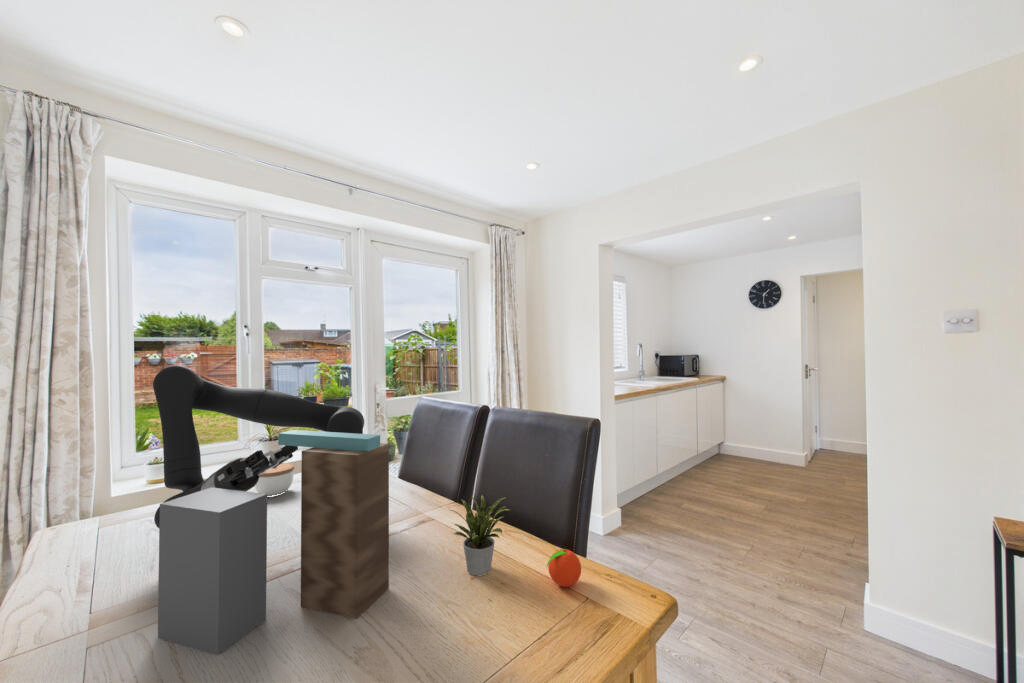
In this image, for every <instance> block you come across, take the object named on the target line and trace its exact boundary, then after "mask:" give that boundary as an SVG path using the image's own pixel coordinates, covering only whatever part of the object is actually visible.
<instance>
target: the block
mask: <svg viewBox="0 0 1024 683" xmlns="http://www.w3.org/2000/svg"><path fill="white" fill-rule="evenodd" d="M277 434H278V435H277V437H278V438H277V441H278V444H277V445H278V446H285V445H287V446H298V447H303V448H313V447H314V448H328V449H341V450H354V451H371V450H373V449H376V448H379V447H380V443H381V434H368V433H363V434H356V433H339V432H325V431H322V430H304V429H302V430H301V429H291V430H287V431H283V432H279V433H277Z"/></svg>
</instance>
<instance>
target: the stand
mask: <svg viewBox="0 0 1024 683" xmlns="http://www.w3.org/2000/svg"><path fill="white" fill-rule="evenodd" d="M389 450H390V444H389V443H387V442H386V443H385V442H380V447H379V448H376V449H373V450H371V451H354V450H341V449H328V448H314V447H309V448H307V449H303V450H301V474H300V476H301V488H300V489H301V490H300V491H301V492H300V494H301V497H300V498H301V500H300V501H301V502H300V504H301V505H300V508H301V509H300V511H301V512H300V515H301V516H300V607H302V608H305V609H310V610H315V611H319V612H325V613H327V614H328V613H329V614H335V615H338V616H342V617H345V618H346V617H347V618H352V619H355V620H357V619H359V617H361V616H362V615H363V614H364V613H365V612H366V611H368V609H369V608H371V606H373V604H375V602H377V600H379V599H380V598H381V597H382V596H383V595H384V594H385V593H386V592H387V591H388V590H389V589H390V587H389V586H390V583H389V582H390V578H389V577H390V576H389V575H390V568H389V567H390V560H389V559H390V550H389V549H390V548H389V547H390V544H389V543H390V540H389V539H390V537H389V536H390V530H389V528H390V525H389V524H390V523H389V522H390V518H389V517H390V514H389V513H390V508H389V507H390V495H389V494H390V491H389V490H390V479H389V477H390V468H389V466H390V462H389V461H390V457H389V456H390V451H389Z"/></svg>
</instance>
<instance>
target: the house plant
mask: <svg viewBox="0 0 1024 683" xmlns="http://www.w3.org/2000/svg"><path fill="white" fill-rule="evenodd" d="M470 497H471V498H472V501H473V502H474V504H475V507H476V512H475V513H474V512H473V509H472V507H471V505H470V504H468V503H467V502H466V500H464V499H462V498H461V499H460V500H461V502H462V504H463V506H464V509H465V511H466V513H465V518H464V517H463V516H462V515H461V514H460V513H458V512H457V511H455V510H453V509H450V511H452V512H454V513H456V514H457V515H458V516H460V517H461V518H462V519H463V520H464V521H465V522H466V525H467V527H468V528H466V527H464V526H462V525H460V524H458V523H454V525H455V526H456V527H458V528H459V530H461V531H455V532H454V533H453V535H456V536H461V537H464V538H465V539H464V540H463V544H462V545H463V550H464V556H465V564H466V570H467V573H468V572H469V573H470V574H471V576H473V575H484V574H486V573H488V572H489V571H490V572H491V568H492V561H493V556H494V551H495V550H494V549H495V543H496V542H495V539H494V538H498V539H500V536H499V534H497V532H498V533H500V534H503V530H502V528H500V527H496V528H494V527H495V526H496V524H497V523H498V522H499V521H500V520H501V519H502V518H504V517H505V515H504V516H503V515H502V516H500V517H498V518H497V519H495V518H496V517H497V515H498V514H499V513H501V512H504V511H510V509H508V508H507V505H506V506H502V507H500V508H498V509H497V510H496V512H495V513H494V515H493V516H492V513H493V512H494V510H495V509H496V507H497V505H499V503H500V502H501V501H502V500H505V499H506V498H507V497H506V496H505V497H502V498H499V499H497V500H496V501H494V503H493V504H492V505H491V506H489V507H487V508H486V501H485V498H484V495H483V494H481V496H480V507H479V504H478V502H477V500H475V498H474V497H473V496H472V495H470ZM491 518H492V519H491ZM462 531H463V532H464V533H465V534H464V533H463V532H462ZM493 532H496V533H493ZM490 572H489V573H490ZM469 573H468V574H469ZM489 573H488V574H489ZM470 574H469V575H470ZM486 575H487V574H486ZM484 576H485V575H484Z"/></svg>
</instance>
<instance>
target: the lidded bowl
mask: <svg viewBox="0 0 1024 683" xmlns="http://www.w3.org/2000/svg"><path fill="white" fill-rule="evenodd" d="M294 470H295V464H292V463H289V462H288V463H287V462H283V463H282V464H280V465H278V466H277V467H276V468H275V467H274V468H273V467H272V468H270V469H268V470H267V471H266V472H265V473H263V474H261V475H260V476H259V480H258V482H257V484H256V485H255V486H254V487H253V488H254V489H255V491H256V493H262V494H267V496H272V495H277V494H281V493H283V492H285V493H286V491H288V489H290V487H291V486H292V483H293V481H294V473H295V471H294Z"/></svg>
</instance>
